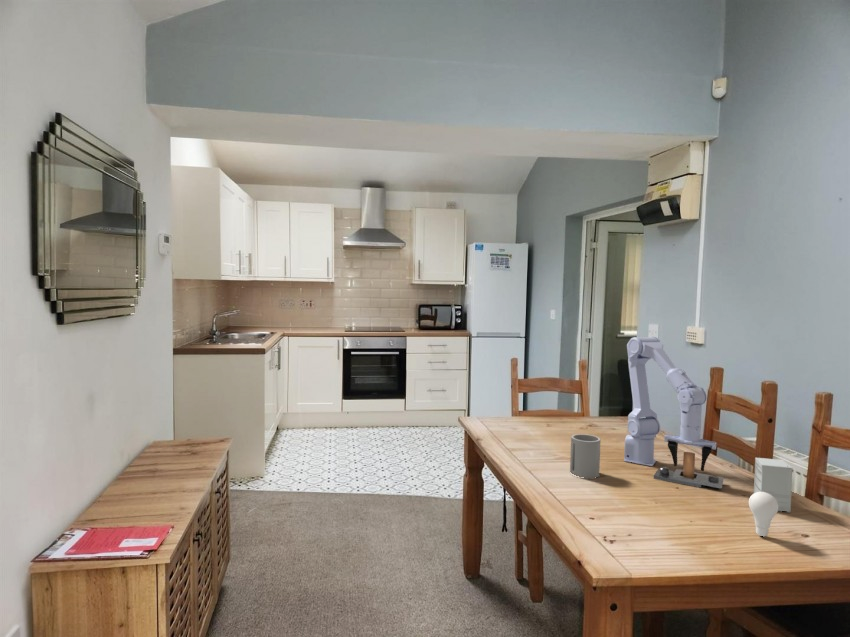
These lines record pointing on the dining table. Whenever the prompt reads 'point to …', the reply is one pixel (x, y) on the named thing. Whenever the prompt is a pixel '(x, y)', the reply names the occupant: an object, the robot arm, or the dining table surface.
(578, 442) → the cup
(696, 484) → the grey flat plate
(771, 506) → the lightbulb
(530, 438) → the dining table surface
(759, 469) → the supplement box
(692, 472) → the pin
